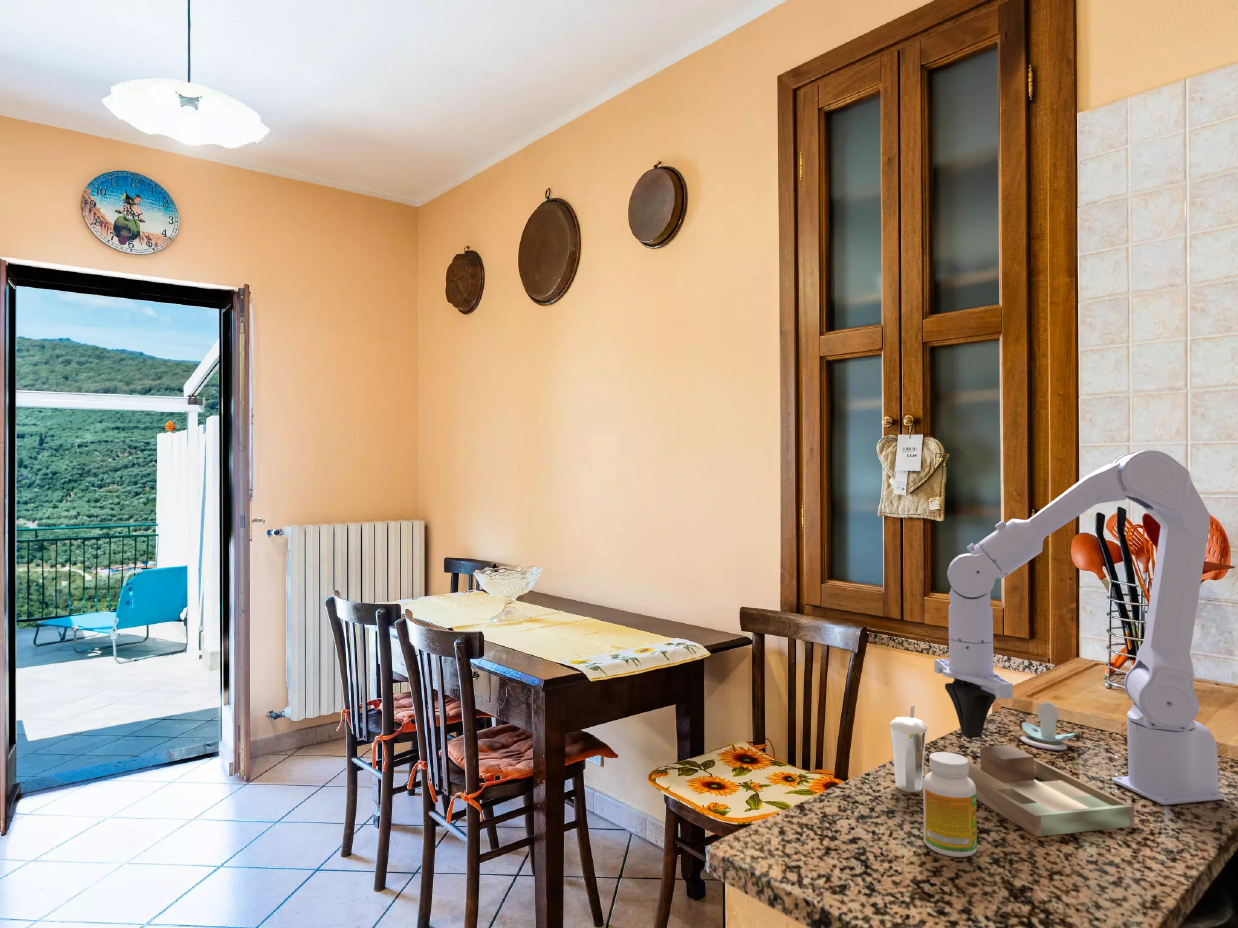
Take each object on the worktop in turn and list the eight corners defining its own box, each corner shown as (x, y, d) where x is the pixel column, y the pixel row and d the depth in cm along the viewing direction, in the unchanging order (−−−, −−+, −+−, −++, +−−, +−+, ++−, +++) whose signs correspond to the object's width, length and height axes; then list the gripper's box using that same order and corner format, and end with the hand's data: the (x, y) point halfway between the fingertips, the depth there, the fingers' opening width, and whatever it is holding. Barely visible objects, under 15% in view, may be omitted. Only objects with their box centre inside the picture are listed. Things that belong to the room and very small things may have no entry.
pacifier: (1064, 756, 112) (1079, 746, 116) (1062, 714, 112) (1078, 705, 116) (1012, 744, 118) (1028, 734, 122) (1011, 703, 118) (1027, 695, 122)
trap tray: (1026, 770, 106) (1026, 753, 106) (1134, 826, 89) (1133, 806, 89) (942, 777, 104) (942, 760, 104) (1036, 836, 86) (1036, 815, 87)
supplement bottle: (983, 860, 81) (981, 768, 81) (929, 856, 82) (927, 764, 82) (970, 837, 86) (968, 750, 87) (919, 833, 87) (918, 747, 88)
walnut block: (1010, 767, 103) (1009, 744, 104) (1034, 779, 99) (1033, 756, 99) (980, 769, 103) (980, 747, 103) (1003, 782, 98) (1003, 758, 98)
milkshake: (931, 783, 102) (930, 707, 102) (923, 797, 97) (922, 718, 98) (896, 776, 104) (895, 702, 105) (887, 789, 100) (886, 712, 100)
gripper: (915, 630, 115) (916, 721, 114) (979, 651, 100) (980, 755, 100) (957, 628, 116) (958, 718, 116) (1026, 649, 102) (1027, 752, 101)
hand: (971, 736), depth 108 cm, fingers closed
